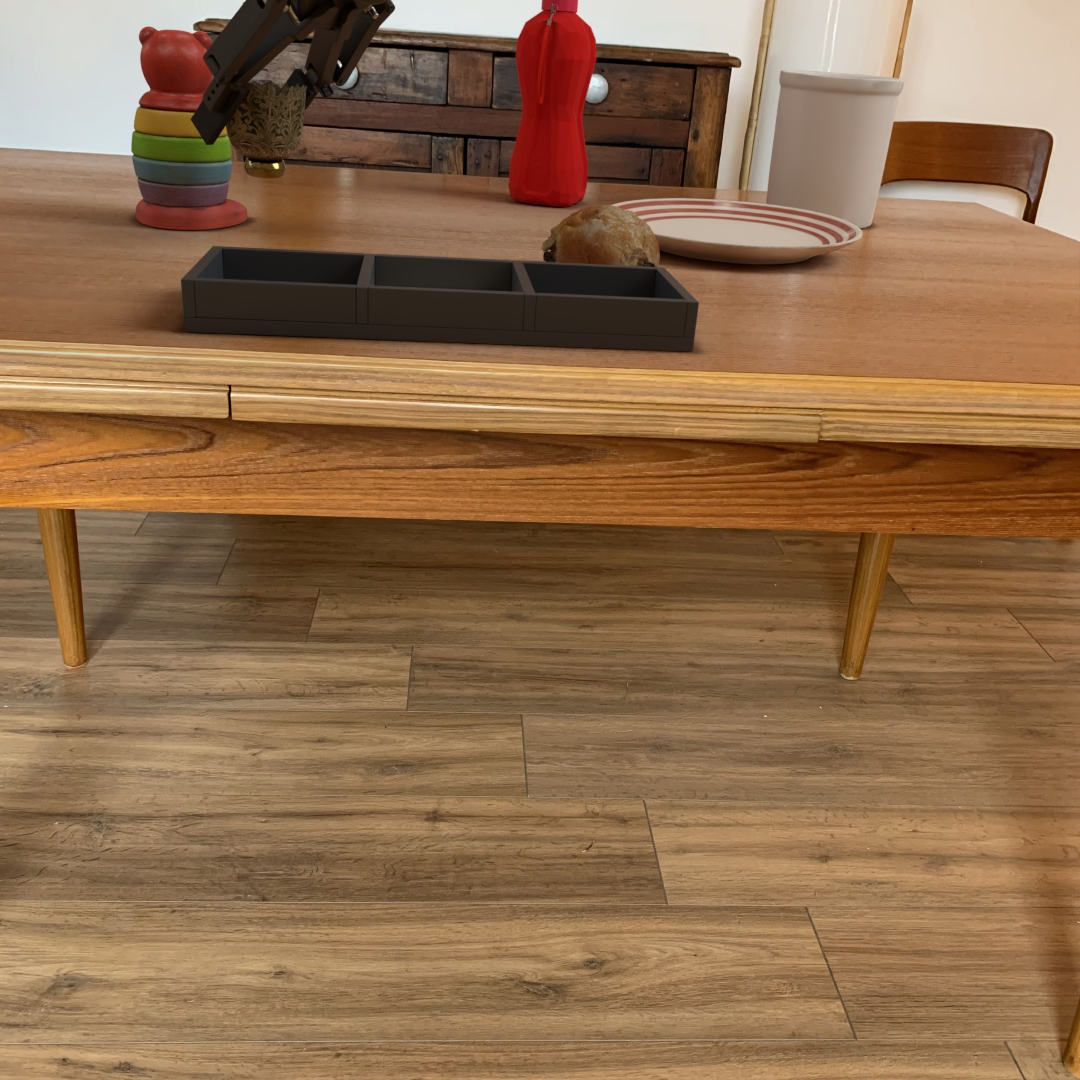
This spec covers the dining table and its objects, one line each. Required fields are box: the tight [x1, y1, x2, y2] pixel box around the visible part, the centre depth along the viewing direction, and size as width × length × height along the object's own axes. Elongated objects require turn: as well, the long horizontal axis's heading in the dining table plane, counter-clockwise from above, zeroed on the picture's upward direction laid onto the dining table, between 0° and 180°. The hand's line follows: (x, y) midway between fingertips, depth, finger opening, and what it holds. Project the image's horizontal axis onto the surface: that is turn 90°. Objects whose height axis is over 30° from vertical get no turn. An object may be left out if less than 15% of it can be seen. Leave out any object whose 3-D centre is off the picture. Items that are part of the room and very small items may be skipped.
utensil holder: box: [765, 69, 905, 229], centre depth 138 cm, size 15×15×18 cm
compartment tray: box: [180, 245, 700, 353], centre depth 79 cm, size 35×12×4 cm, turn 95°
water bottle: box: [508, 0, 597, 208], centre depth 134 cm, size 9×11×25 cm
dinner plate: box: [611, 197, 864, 265], centre depth 117 cm, size 27×27×3 cm
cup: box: [226, 79, 307, 180], centre depth 97 cm, size 8×7×8 cm
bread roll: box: [541, 204, 661, 267], centre depth 98 cm, size 10×10×8 cm
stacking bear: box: [130, 26, 248, 231], centre depth 106 cm, size 11×10×18 cm
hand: (237, 130), depth 99 cm, fingers closed on cup, 7 cm apart
